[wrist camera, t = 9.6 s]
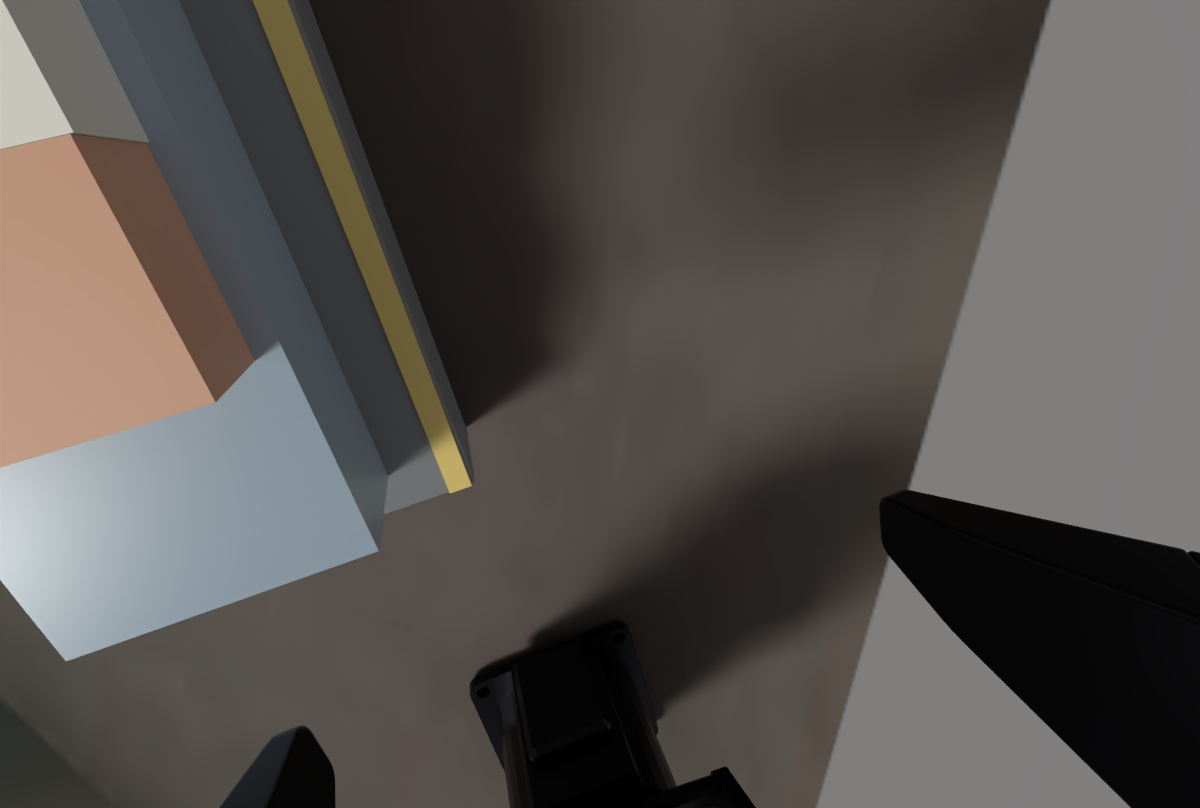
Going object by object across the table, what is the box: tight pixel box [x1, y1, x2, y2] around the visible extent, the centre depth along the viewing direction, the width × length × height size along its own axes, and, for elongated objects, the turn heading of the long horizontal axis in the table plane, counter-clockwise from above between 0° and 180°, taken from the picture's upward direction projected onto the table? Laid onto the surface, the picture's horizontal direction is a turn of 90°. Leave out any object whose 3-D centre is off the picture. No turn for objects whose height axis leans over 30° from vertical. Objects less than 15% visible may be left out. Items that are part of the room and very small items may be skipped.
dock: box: [179, 0, 475, 515], centre depth 14 cm, size 18×10×4 cm, turn 14°
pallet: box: [0, 0, 388, 661], centre depth 10 cm, size 16×6×4 cm, turn 14°
